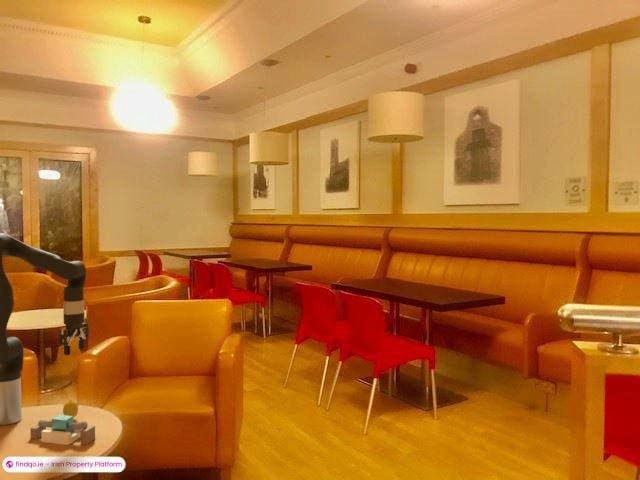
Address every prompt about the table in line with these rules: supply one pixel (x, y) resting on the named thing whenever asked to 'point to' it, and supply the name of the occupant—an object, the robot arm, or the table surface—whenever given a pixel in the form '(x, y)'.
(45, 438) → the shaft rig
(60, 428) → the green rectangular block
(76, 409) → the lemon
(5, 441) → the table surface
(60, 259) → the robot arm
